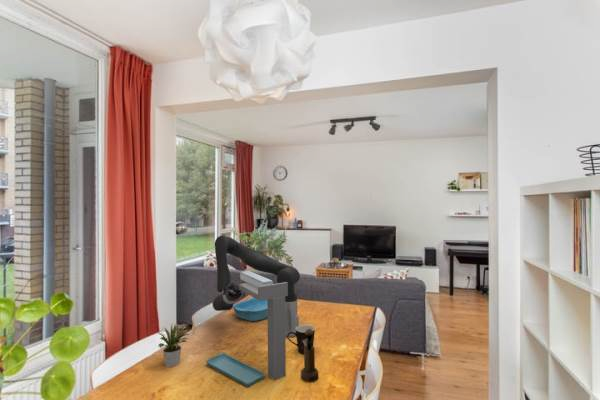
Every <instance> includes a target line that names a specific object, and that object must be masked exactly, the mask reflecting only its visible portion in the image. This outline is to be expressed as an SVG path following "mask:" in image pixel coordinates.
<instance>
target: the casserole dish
mask: <svg viewBox="0 0 600 400" xmlns="http://www.w3.org/2000/svg"><path fill="white" fill-rule="evenodd" d="M232 309H233V311H234V314H235V316H236V317H238V318H240V319H243V320H246V321H250V322H256V321H257V322H258V321H260V320H264V319H266V318H267V319H268V300H262V301H259V300H257V299H255V298H254V297H252V298H249V299H245V300H243V301H239V302H237V303H233V307H232Z"/></svg>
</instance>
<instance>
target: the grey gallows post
mask: <svg viewBox="0 0 600 400" xmlns="http://www.w3.org/2000/svg"><path fill="white" fill-rule="evenodd" d="M245 283H246V284H243V283H240V284H238V285H239V289H240V290H242V291H243V292H244V293H245V294H247V295H248V296H250V297H252V298H255V299H257V300H259V301H262V300H268V317H267V375H268V376H269V377H270V378H271V379H272V380H274V381H275V380H278V379H281V378H285V377H286V376H287V373H286V372H287V370H286V369H287V368H286V367H287V365H286V361H287V360H286V359H287V357H286V355H287V354H286V353H287V352H286V337H285V296H288V283H287V282H284V283H277V282H276V283H273V284H271V285H264V286H258V288H257V287H255V286H253V285H251V284H249V283H247V282H245Z"/></svg>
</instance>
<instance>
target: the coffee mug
mask: <svg viewBox="0 0 600 400" xmlns="http://www.w3.org/2000/svg"><path fill="white" fill-rule="evenodd" d="M307 329H311V330H312V331H313V336H312V338H311V341H312V345H311V346H313V347H314V344H315V343H314V340H315V333H316V332H315V331H316V327H314V326H313V325H308V324H303V325H299V326H298V327H296V333H294V332H290V333H288V335H287V337H286V338H287V340H288V341H289V342H290V343H292V344H293V345H294V346H296V348H297V351H298V353H299V354H300V355H303V356H304V347H305V346H307V344H306V341H307V337H306V335H305V331H306V330H307ZM291 333H293V334H295V336H294V337H296V342H294V341H292V340H291V338H290V337H288V336H289V334H291Z"/></svg>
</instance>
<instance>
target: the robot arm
mask: <svg viewBox="0 0 600 400" xmlns="http://www.w3.org/2000/svg"><path fill="white" fill-rule="evenodd" d="M214 252H215V253H214V254H215V262H216V274H217V275H216V290H217V292H218V293H221V294H218V295H217V296H216V297H215V298H214V299H213V301H212V308H213V309H214V310H215V311H218V312H220V311H221V312H223V311H231V310H232V309H233V305H234V304H235V302H237V301H238V300H239V299H240V298H241V297H242V295H243V291H242V290H240V289H239V284H237V283H235V282H231V272H230V268H229V265H228V260H227V259H228V258H227V255H231V256H234V257H236V258H238V259H240V261H242V262H243V264H245V265H246V266H248V267H250V268H252V269H253V270H256V271H259V272H262V273H268V274H272V275H274V276H276V284H277V283H284V282H287V283H288V296H285V338H287V335H288V333H290V332H294V333H296V327H298V326H300V318H299V316H300V315H298V294H297V293H296V292H295V284H297V283H298V282H299V281H300V278H301V275H300V272H299V270H298V269H297V268H296V267H294V266H291V265H289V264H286V263H283V262H280V261H278V260H276V259H274V258H272V257H270V256H269V255H266V254H265V253H262V252H260V251H259V250H257V249H254V248H251V247H248V246H245V245H243V243H240V242H238V241H237V240H236V239H234V238H232V237H230V236H225V235H218V237H216V238H215V240H214ZM246 283H247V282H243V283H242V284H246ZM294 337H296V336H295V334H293V333H291V334H289V336H288V338H294Z"/></svg>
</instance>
